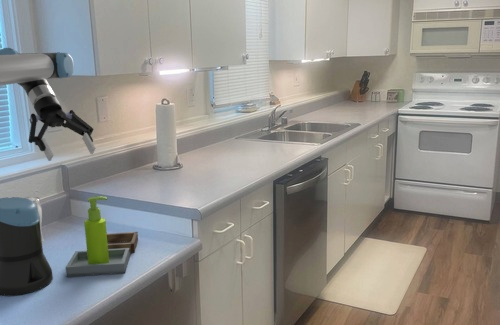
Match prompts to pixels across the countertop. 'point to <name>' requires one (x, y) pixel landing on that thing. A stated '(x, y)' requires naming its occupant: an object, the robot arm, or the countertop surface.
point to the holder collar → (123, 240)
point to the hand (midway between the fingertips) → (72, 154)
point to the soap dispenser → (96, 234)
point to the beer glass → (37, 202)
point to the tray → (82, 268)
